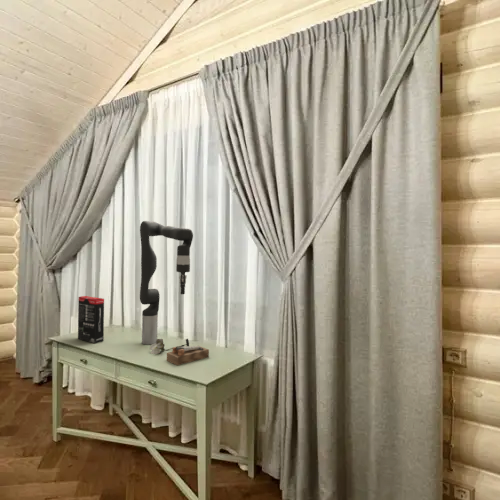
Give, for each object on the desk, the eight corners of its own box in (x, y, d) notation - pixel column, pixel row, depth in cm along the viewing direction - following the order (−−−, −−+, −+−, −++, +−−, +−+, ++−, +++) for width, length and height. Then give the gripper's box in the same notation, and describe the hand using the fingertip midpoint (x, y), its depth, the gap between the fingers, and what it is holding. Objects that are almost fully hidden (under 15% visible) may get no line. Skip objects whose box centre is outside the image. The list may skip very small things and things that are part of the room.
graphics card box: (104, 341, 209) (105, 297, 209) (94, 344, 203) (95, 299, 203) (86, 337, 217) (87, 295, 217) (76, 339, 211) (77, 296, 211)
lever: (197, 348, 185) (197, 345, 185) (200, 349, 183) (200, 347, 183) (175, 349, 175) (176, 346, 175) (178, 350, 173) (179, 348, 173)
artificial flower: (191, 354, 192) (190, 338, 189) (150, 361, 186) (148, 345, 183) (189, 345, 200) (188, 330, 197) (150, 352, 194) (148, 337, 191)
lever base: (197, 352, 190) (197, 341, 190) (208, 356, 183) (208, 344, 183) (166, 360, 175) (166, 347, 175) (177, 365, 168) (177, 352, 168)
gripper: (176, 263, 196) (176, 292, 196) (176, 264, 183) (175, 295, 183) (190, 263, 197) (189, 292, 197) (189, 264, 184) (189, 295, 184)
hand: (182, 294), depth 190 cm, fingers closed
